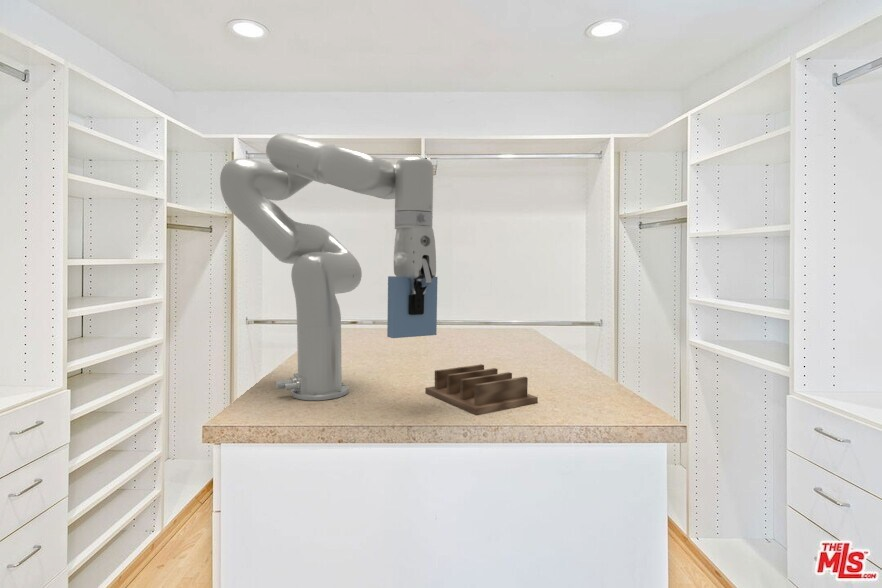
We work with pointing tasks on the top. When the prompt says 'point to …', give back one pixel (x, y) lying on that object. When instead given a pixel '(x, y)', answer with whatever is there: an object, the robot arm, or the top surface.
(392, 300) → the tile
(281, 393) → the top surface
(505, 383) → the rack
